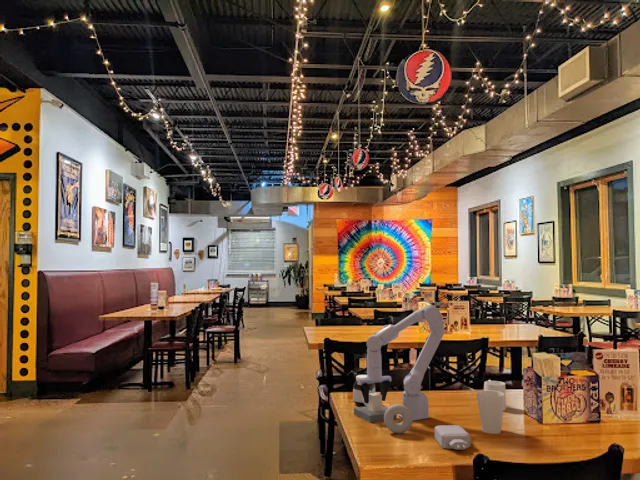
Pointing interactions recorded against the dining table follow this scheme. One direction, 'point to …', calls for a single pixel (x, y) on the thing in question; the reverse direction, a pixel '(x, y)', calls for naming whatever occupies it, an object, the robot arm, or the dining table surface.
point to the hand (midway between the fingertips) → (374, 401)
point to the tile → (371, 414)
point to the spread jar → (358, 394)
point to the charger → (452, 437)
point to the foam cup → (491, 410)
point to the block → (375, 402)
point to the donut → (393, 425)
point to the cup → (496, 388)
